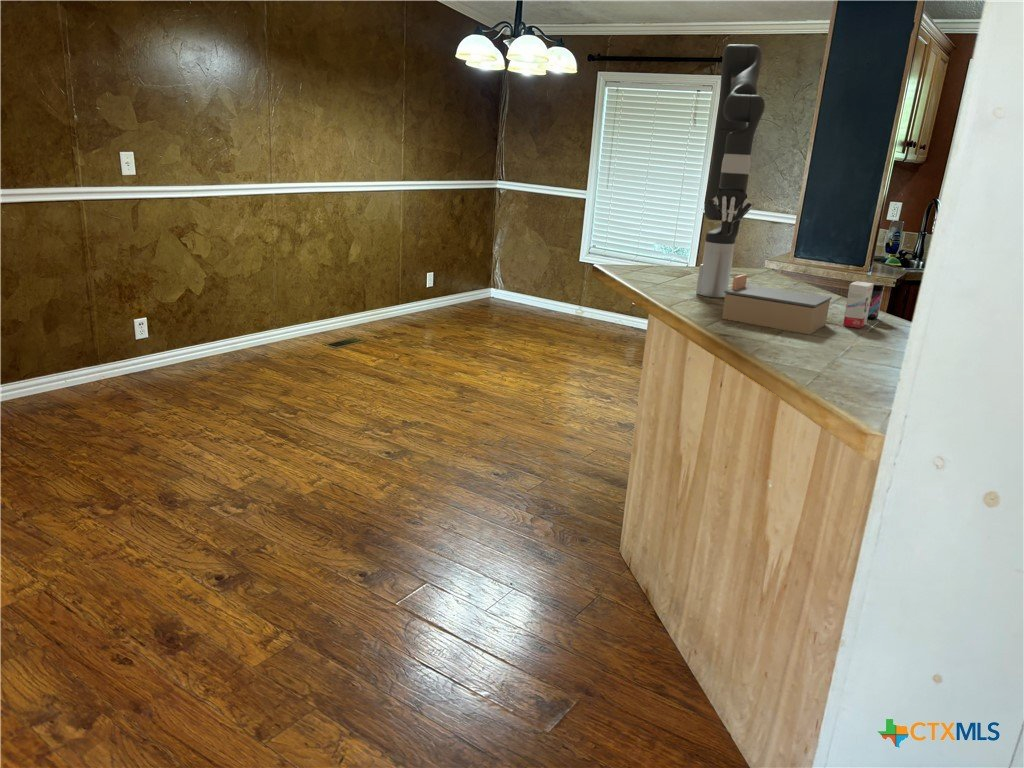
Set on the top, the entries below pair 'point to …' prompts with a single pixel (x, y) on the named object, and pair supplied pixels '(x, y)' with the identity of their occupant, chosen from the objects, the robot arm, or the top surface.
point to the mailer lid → (774, 293)
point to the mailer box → (775, 313)
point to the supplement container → (875, 299)
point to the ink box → (858, 304)
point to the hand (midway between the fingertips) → (726, 235)
